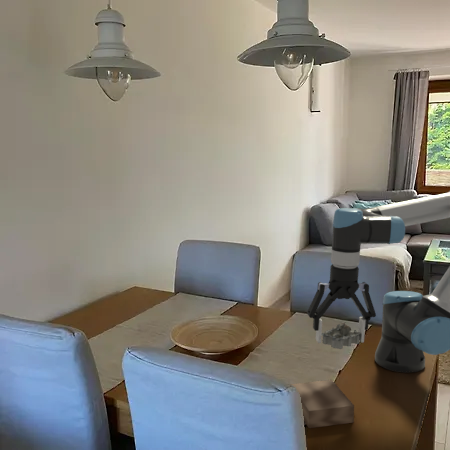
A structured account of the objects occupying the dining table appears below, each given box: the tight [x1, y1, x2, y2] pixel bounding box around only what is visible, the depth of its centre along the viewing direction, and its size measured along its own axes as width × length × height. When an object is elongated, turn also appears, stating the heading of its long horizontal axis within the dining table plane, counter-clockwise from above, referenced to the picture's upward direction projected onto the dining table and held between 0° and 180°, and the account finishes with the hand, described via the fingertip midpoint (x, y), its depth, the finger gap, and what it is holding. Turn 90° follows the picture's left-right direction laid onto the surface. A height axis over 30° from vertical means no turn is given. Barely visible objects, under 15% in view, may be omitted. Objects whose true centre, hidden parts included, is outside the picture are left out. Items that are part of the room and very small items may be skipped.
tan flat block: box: [290, 379, 355, 429], centre depth 134 cm, size 12×14×5 cm
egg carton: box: [321, 322, 361, 350], centre depth 141 cm, size 11×8×4 cm
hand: (339, 340), depth 142 cm, fingers closed on egg carton, 11 cm apart
